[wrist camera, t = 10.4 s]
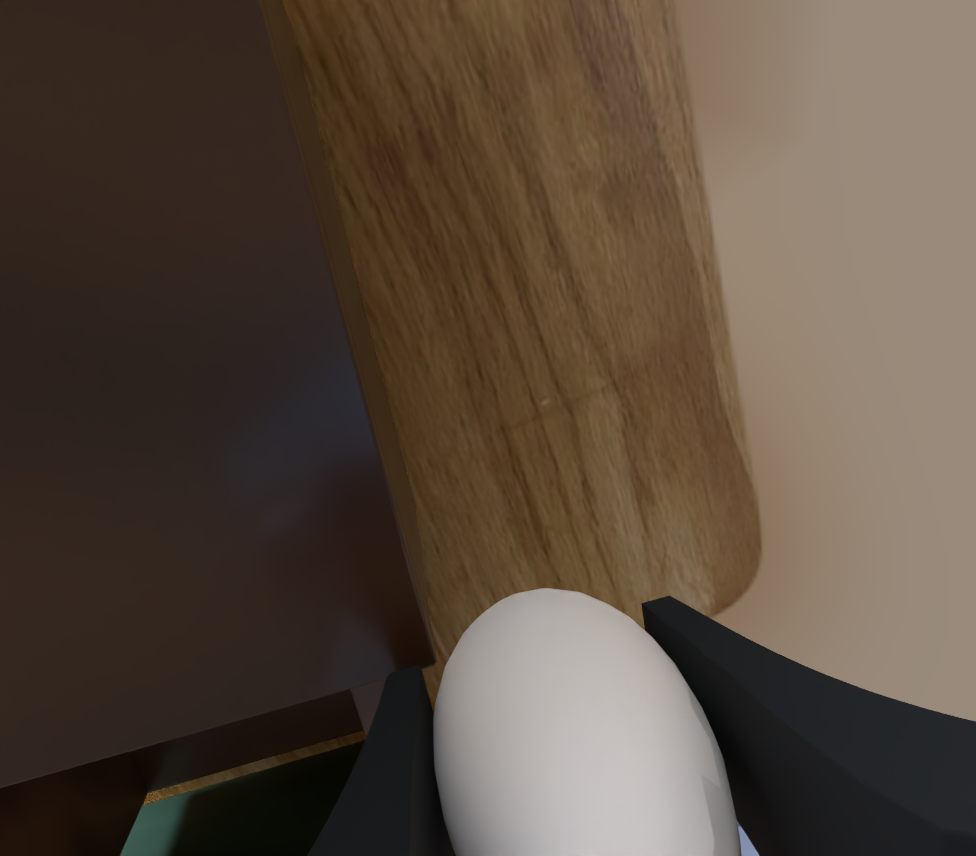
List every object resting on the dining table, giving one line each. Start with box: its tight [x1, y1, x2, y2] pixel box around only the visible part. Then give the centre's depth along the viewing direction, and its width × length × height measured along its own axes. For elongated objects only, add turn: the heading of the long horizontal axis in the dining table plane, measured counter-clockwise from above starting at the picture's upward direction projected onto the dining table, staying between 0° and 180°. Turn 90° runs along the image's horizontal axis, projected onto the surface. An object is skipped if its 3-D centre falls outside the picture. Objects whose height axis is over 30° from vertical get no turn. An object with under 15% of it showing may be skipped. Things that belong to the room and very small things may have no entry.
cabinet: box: [0, 0, 436, 788], centre depth 14 cm, size 15×13×9 cm
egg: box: [433, 588, 742, 856], centre depth 10 cm, size 5×5×7 cm
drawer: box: [0, 679, 456, 856], centre depth 17 cm, size 18×11×7 cm, turn 11°
